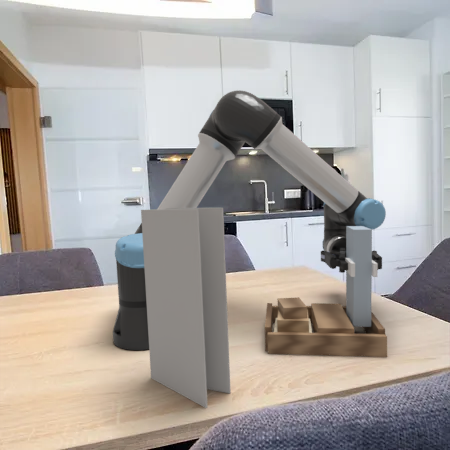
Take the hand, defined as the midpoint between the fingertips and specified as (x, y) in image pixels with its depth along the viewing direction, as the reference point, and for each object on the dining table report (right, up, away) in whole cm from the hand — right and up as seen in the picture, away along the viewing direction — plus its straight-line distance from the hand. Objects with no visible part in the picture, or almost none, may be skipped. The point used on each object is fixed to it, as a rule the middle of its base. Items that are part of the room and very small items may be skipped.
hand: (364, 270), depth 71 cm
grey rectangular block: (+1, -12, +6) cm, 13 cm away
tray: (-7, -16, +8) cm, 19 cm away
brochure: (-34, -18, -10) cm, 40 cm away
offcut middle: (-12, -14, +8) cm, 20 cm away
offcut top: (-13, -11, +8) cm, 19 cm away
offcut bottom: (-12, -17, +9) cm, 22 cm away
